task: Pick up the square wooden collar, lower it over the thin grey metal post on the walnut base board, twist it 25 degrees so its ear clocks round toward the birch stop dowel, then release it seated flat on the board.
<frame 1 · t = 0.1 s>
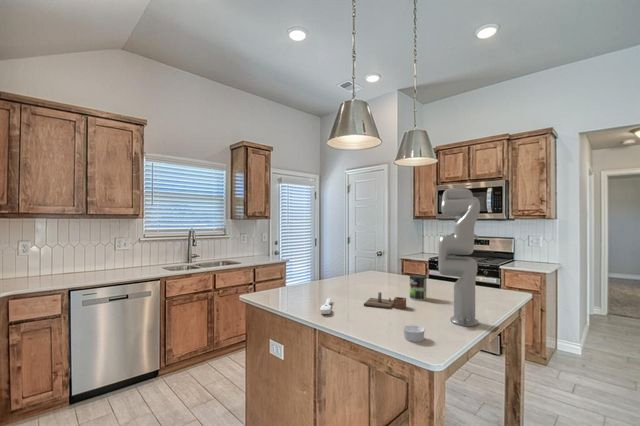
hand: (463, 249, 197), 31 cm above the countertop, fingers open, 9 cm apart
square wooden collar: (400, 307, 181), on the countertop
coffee can: (418, 298, 201), on the countertop
ramekin: (413, 339, 135), on the countertop
post board: (379, 304, 187), on the countertop
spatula: (327, 308, 179), on the countertop
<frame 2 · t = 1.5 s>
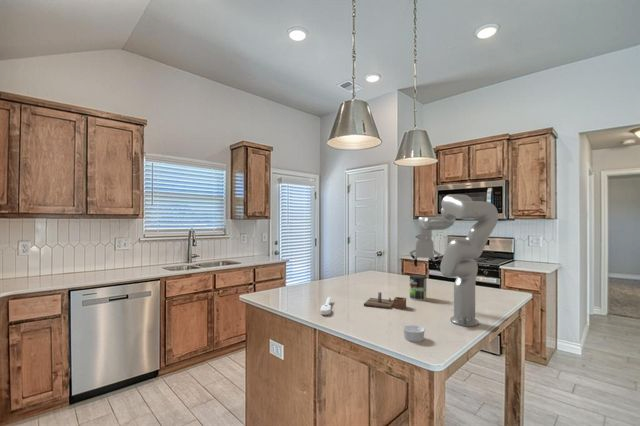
hand: (424, 267, 187), 22 cm above the countertop, fingers open, 9 cm apart
nothing on the countertop moved.
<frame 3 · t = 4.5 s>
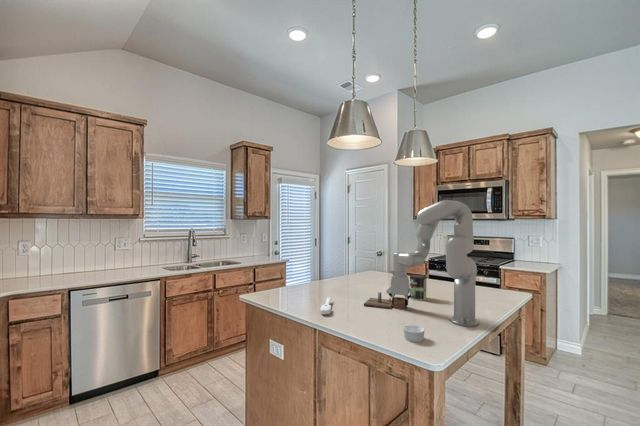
hand: (400, 305, 181), 1 cm above the countertop, fingers closed on square wooden collar, 6 cm apart
square wooden collar: (400, 307, 181), on the countertop, touching gripper
everything else where it was.
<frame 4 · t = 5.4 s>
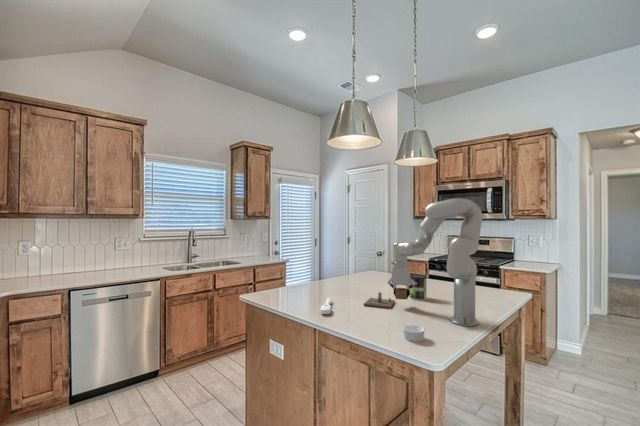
hand: (401, 296, 180), 7 cm above the countertop, fingers closed on square wooden collar, 6 cm apart
square wooden collar: (401, 298, 180), point 6 cm above the countertop, touching gripper
everything else where it was.
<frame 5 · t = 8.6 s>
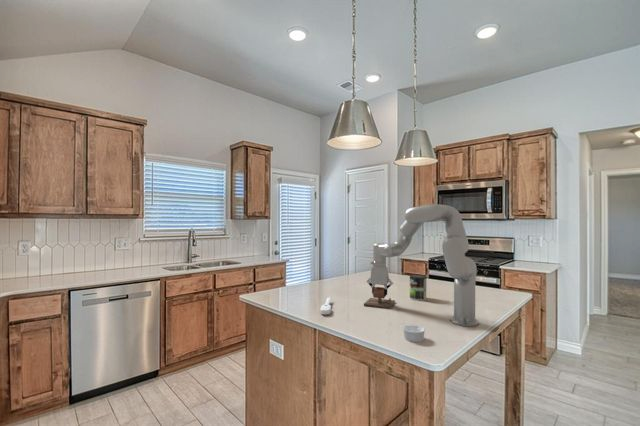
hand: (379, 294, 187), 5 cm above the countertop, fingers closed on square wooden collar, 6 cm apart
square wooden collar: (379, 296, 187), point 4 cm above the countertop, touching gripper
everything else where it was.
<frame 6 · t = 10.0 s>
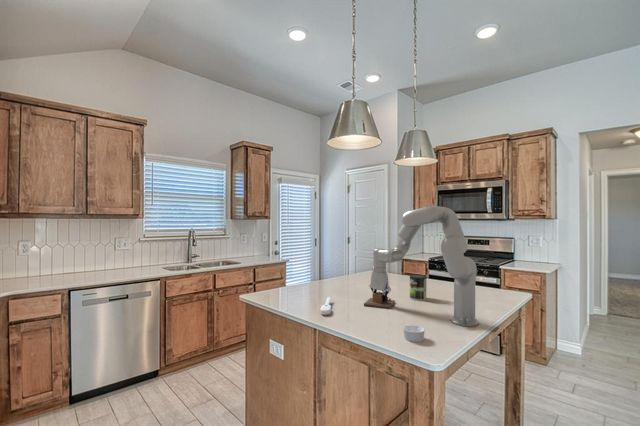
hand: (379, 300, 187), 2 cm above the countertop, fingers closed on square wooden collar, 6 cm apart
square wooden collar: (379, 302, 187), point 1 cm above the countertop, touching gripper
everything else where it was.
when the fingers open (2 cm above the countertop, at t = 10.7 s): square wooden collar stays where it is, resting on post board.
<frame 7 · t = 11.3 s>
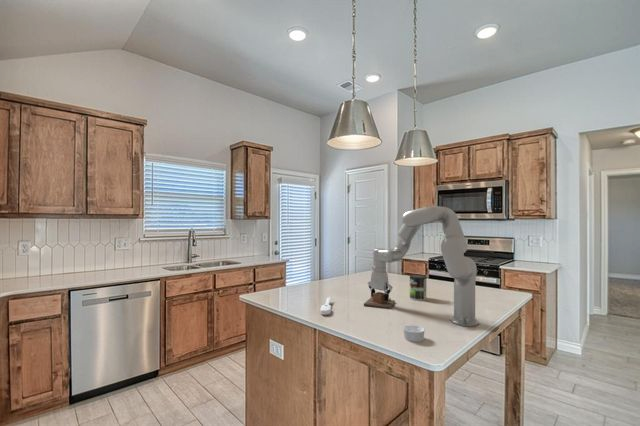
hand: (379, 298, 187), 3 cm above the countertop, fingers open, 9 cm apart
square wooden collar: (379, 302, 187), point 1 cm above the countertop, touching post board
everything else where it was.
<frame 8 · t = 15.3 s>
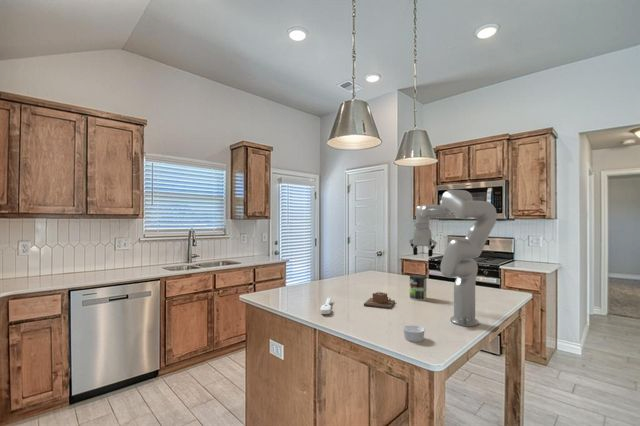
hand: (422, 255, 188), 28 cm above the countertop, fingers open, 9 cm apart
nothing on the countertop moved.
at the end: square wooden collar 0.1 cm off-centre on the post board, point 1.2 cm above the post board's base; square wooden collar tilted 0°; the gripper is holding nothing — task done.
